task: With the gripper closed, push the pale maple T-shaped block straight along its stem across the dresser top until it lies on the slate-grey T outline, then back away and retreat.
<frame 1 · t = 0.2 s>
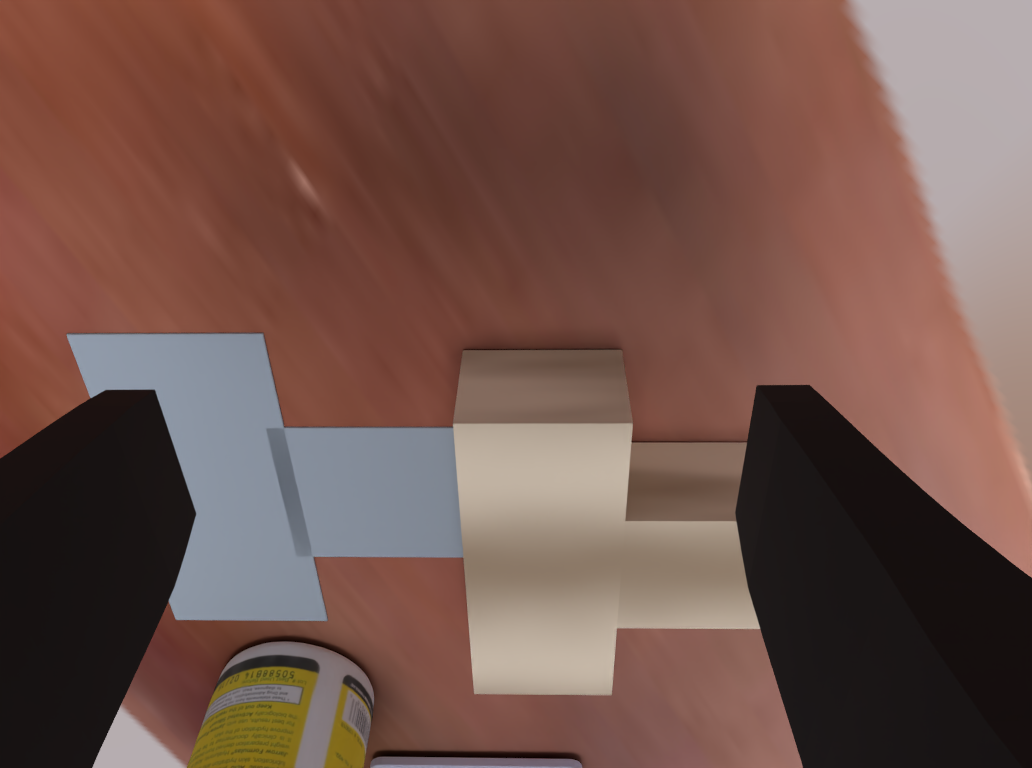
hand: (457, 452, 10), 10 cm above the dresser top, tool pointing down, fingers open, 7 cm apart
slate t outline: (316, 496, 24), on the dresser top
maple t block: (647, 497, 24), on the dresser top, touching slate t outline
supplement bottle: (301, 679, 30), on the dresser top
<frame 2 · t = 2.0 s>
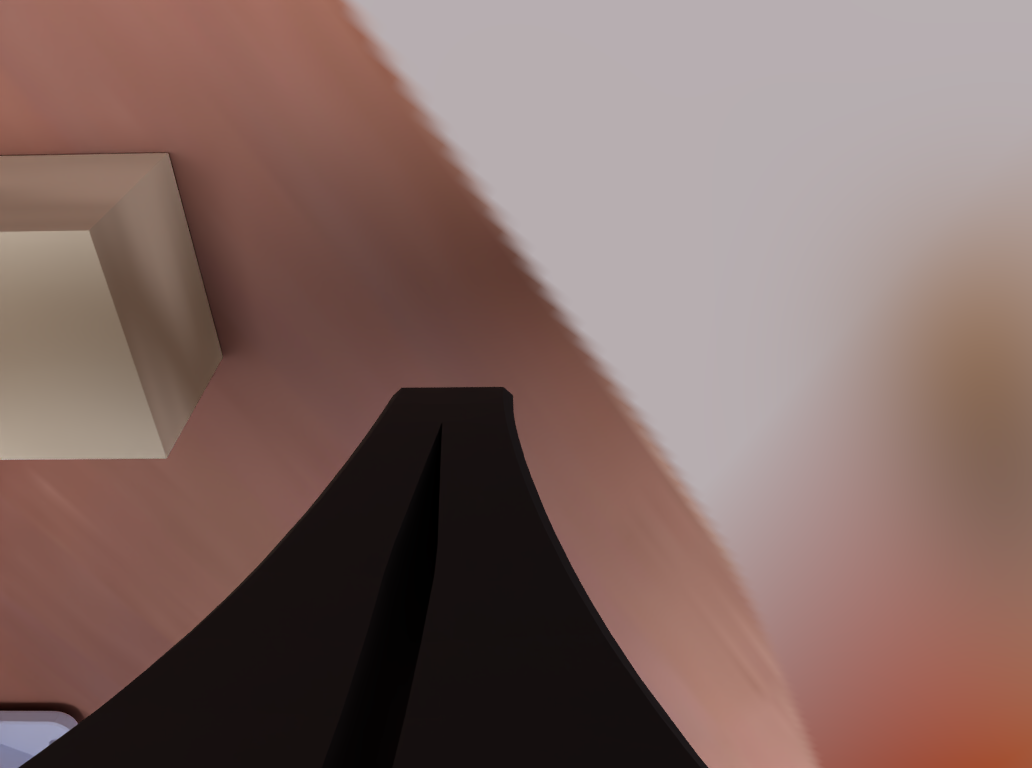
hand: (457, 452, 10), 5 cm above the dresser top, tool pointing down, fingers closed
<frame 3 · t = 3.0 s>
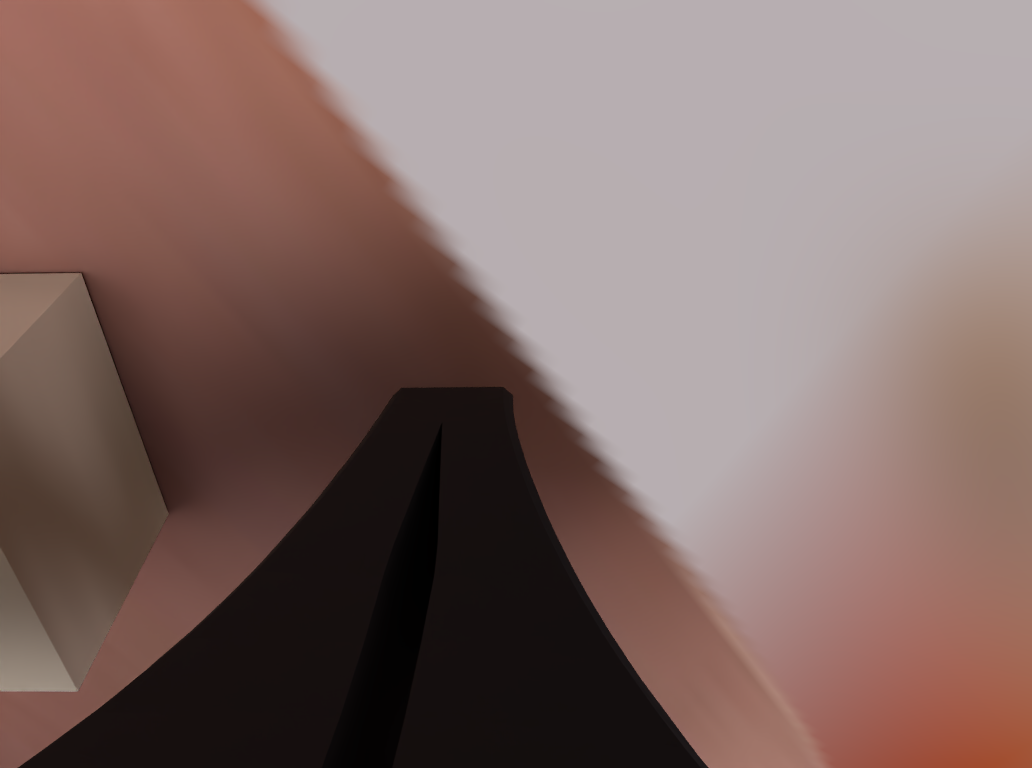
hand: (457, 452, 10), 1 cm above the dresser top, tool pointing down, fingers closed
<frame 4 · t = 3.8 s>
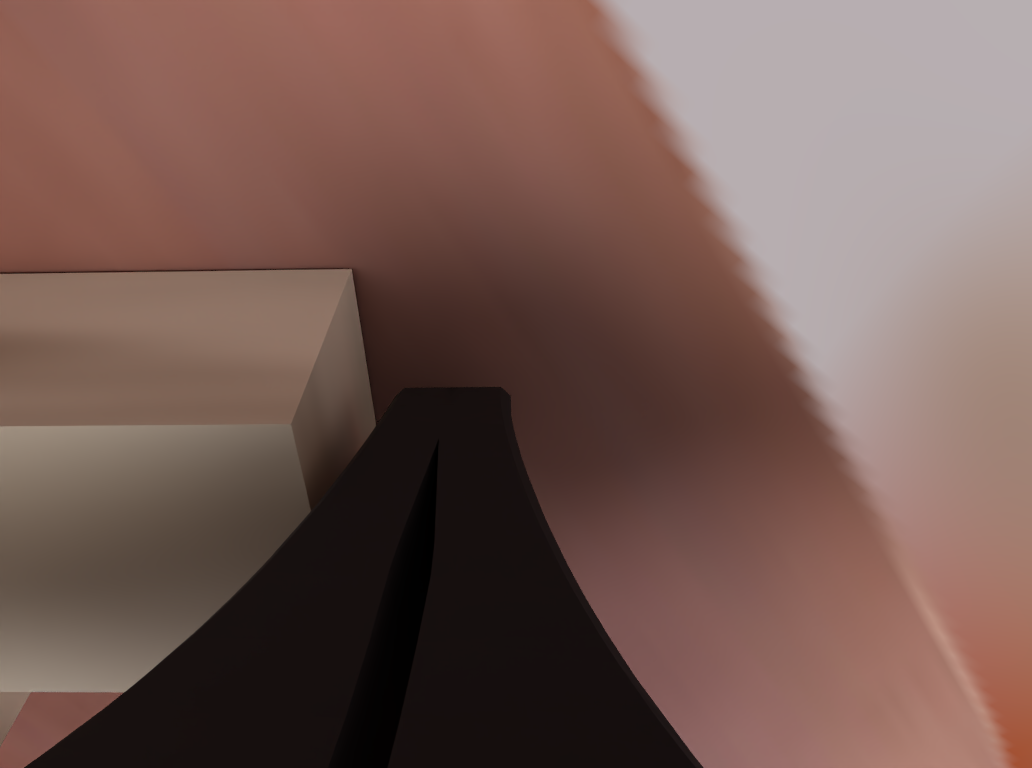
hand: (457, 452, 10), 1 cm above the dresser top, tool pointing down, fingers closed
maple t block: (4, 407, 11), on the dresser top, touching gripper, slate t outline
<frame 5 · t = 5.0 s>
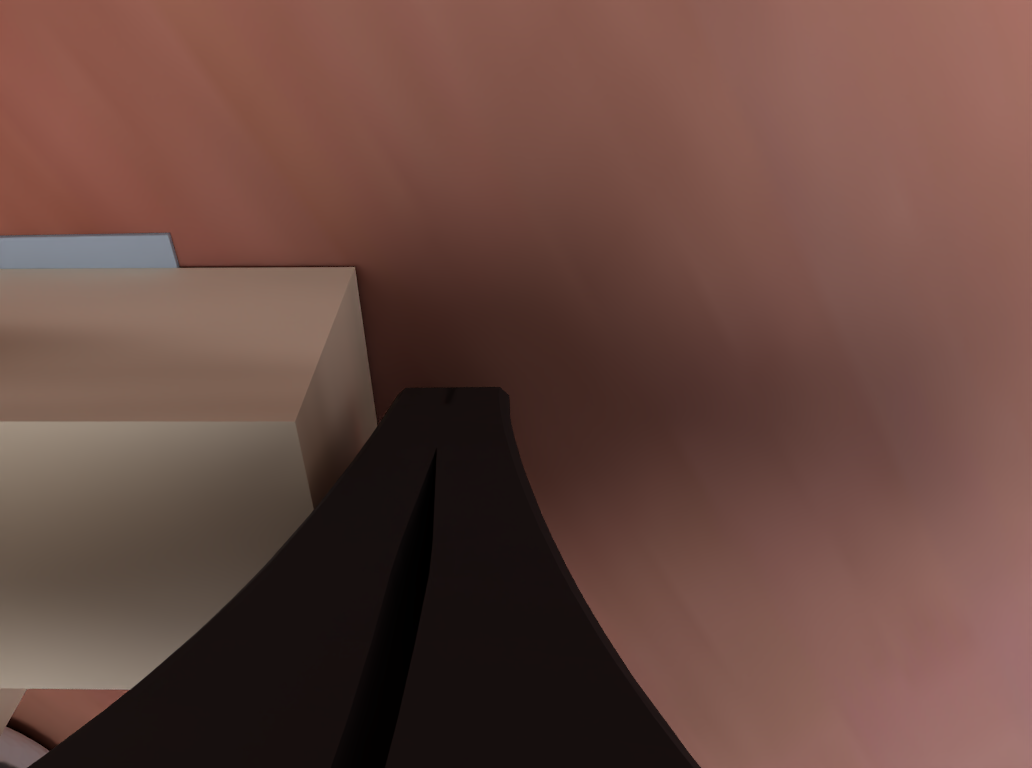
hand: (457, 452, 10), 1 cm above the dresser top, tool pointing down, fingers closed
maple t block: (3, 402, 11), on the dresser top, touching gripper
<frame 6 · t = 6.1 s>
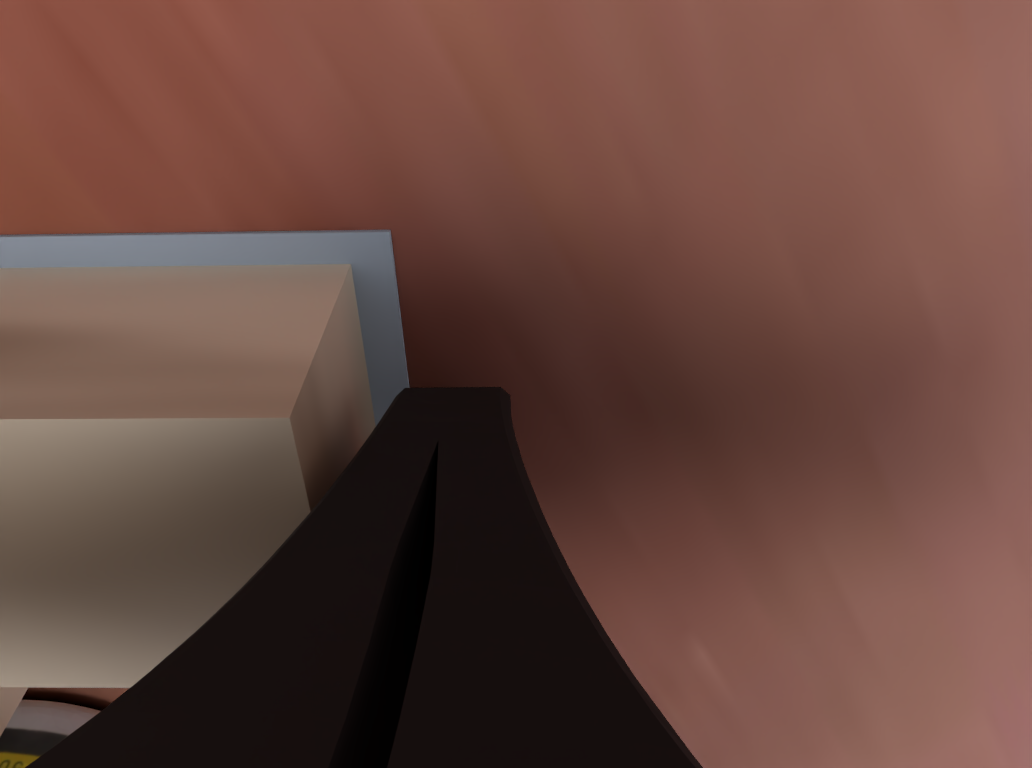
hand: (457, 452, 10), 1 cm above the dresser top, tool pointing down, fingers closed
slate t outline: (5, 407, 11), on the dresser top
maple t block: (2, 401, 11), on the dresser top, touching gripper, slate t outline
supplement bottle: (82, 761, 17), on the dresser top
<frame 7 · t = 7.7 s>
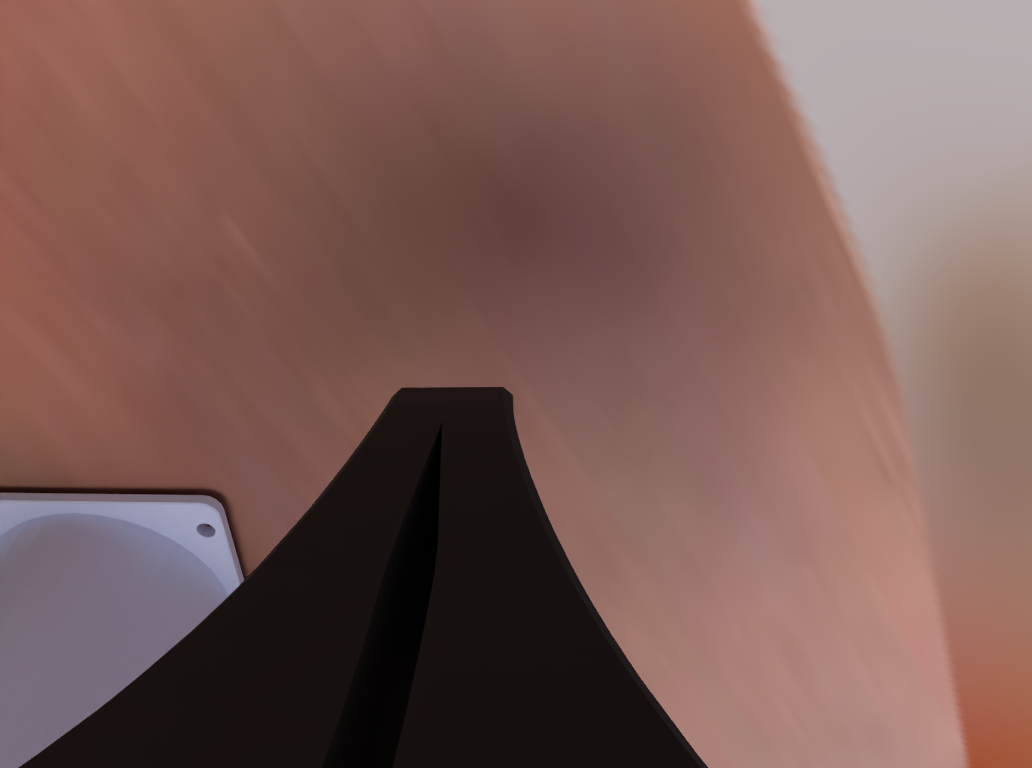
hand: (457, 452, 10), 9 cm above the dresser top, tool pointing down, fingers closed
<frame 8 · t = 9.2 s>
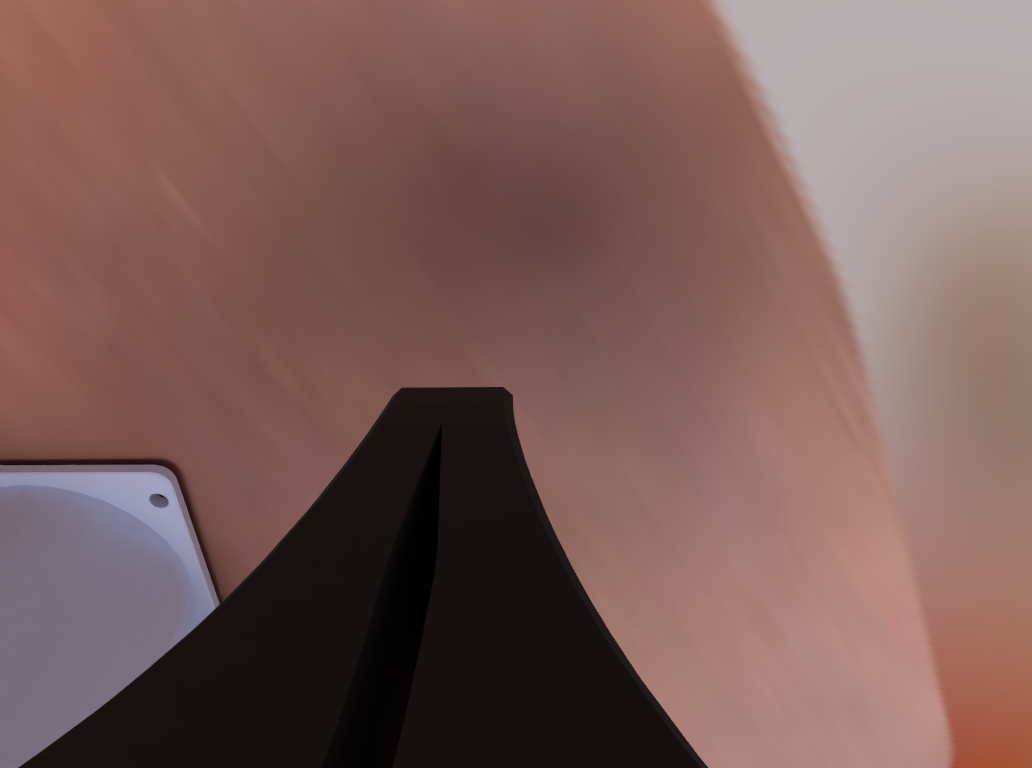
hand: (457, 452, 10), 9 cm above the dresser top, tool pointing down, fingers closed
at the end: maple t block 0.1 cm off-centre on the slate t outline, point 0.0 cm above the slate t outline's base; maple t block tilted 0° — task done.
